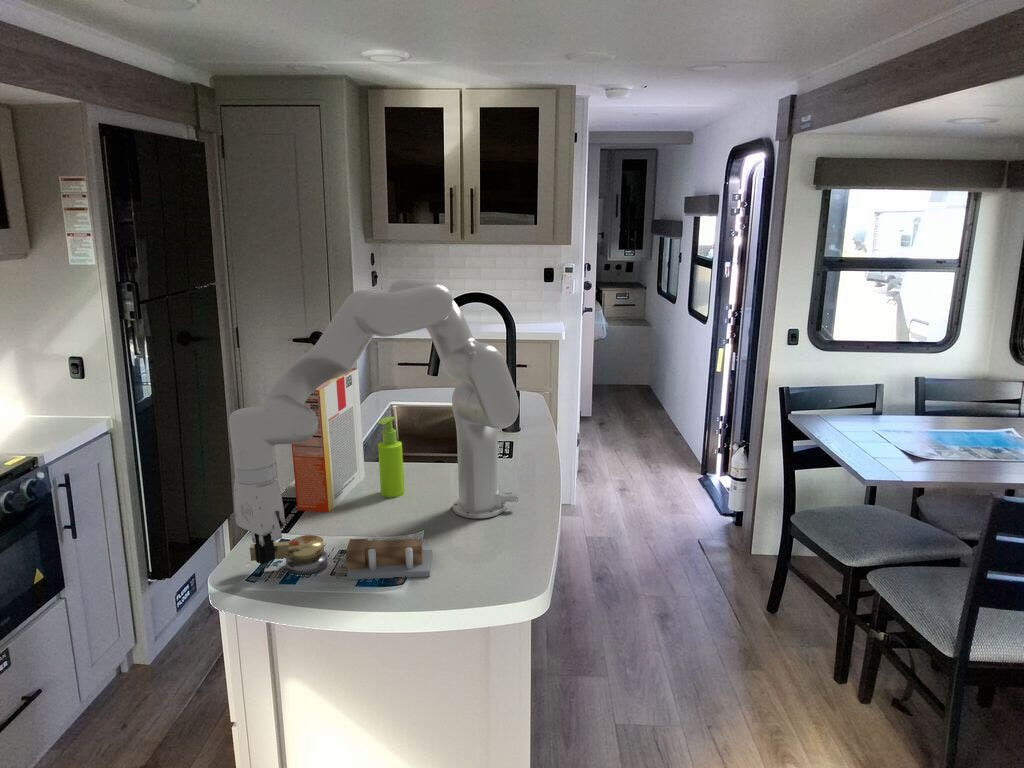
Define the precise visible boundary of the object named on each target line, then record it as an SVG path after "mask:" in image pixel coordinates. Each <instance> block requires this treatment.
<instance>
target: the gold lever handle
mask: <svg viewBox="0 0 1024 768" xmlns="http://www.w3.org/2000/svg"><path fill="white" fill-rule="evenodd" d="M254 544H255V543H252V544H250V547H249V554H250V561H251V562H254V561H256V556H255V547H254ZM324 545H325V544H324V539H323V537H321V536H320V535H313V534H308V535H307V534H306V535H301V536H297V537H294V538H292V539H290V540H288V541H278V542H277V541H276V542H275V541H274V552H275V559H274V560H278V559H286V558H289V559H290V560H291V561H295V562H308V561H312V560H315V559H318V558H319V557H321V556H322V555H323V554H324V551H325V547H324Z"/></svg>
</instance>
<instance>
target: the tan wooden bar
mask: <svg viewBox="0 0 1024 768" xmlns="http://www.w3.org/2000/svg"><path fill="white" fill-rule="evenodd" d="M408 547H410V548H412V550H413V565H416V564H422V561H423V550H424V549H423V548H424V547H423V538H415V539H408V538H404V539H381V540H380V539H379V540H372V539H371V540H369V538H368V537H367V538H350V539H349V540H348V543H347V546H346V548H345V560H346V570H347V571H348V570H351V569H366V566H369V556H368V550H369V549H375V551H376V566H391V565H406V554H405V549H406V548H408Z"/></svg>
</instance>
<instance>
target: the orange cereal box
mask: <svg viewBox="0 0 1024 768" xmlns="http://www.w3.org/2000/svg"><path fill="white" fill-rule="evenodd" d="M359 381H360V379H359V368H354V367H353V368H352V370H351V371H350V372H348V373H346V374H344V375H342V376H340V377H337V378H334V379H332V380H329V381H327V382H325V383H323V384H322V385H320V386H319V387H318V388H317V389H316V390H315V391H314V392H313V393H312V394H311V395H310V396H309V397H308V399H307V400H306V402H305V403H304V405H305V406H307V407H308V408H310V409H311V410H312V411H313V412H314V413H315V415H316V417H317V419H318V428H317V430H316V432H315V434H314V435H313V436H312V437H311V438H310V439H308V440H306V441H304V442H301V443H294V444H291V452H292V453H291V454H292V455H291V456H292V465H293V476H294V487H295V488H294V489H295V497H296V508H297V509H296V510H297V511H300V512H301V511H305V512H318V513H320V512H321V513H330V512H331V511H332V510H333V509H334V508H336V506H337V505H338V504H339V503H340V502H341V501H343V499H344V498H346V497H347V496H348V495H349V494H350V493H351V492H352V491H353V490H354V489H355V488H356V487H357V486H358V485H359V484H360V483H362V481H364V479H365V478H366V475H365V474H366V473H365V457H364V445H363V444H364V442H363V440H364V439H363V426H362V411H361V397H360V396H361V395H360V394H361V393H360V382H359ZM363 478H364V479H363ZM359 482H360V483H359ZM358 483H359V484H358ZM357 484H358V485H357ZM356 485H357V486H356ZM355 486H356V487H355ZM354 487H355V488H354ZM353 488H354V489H353ZM352 489H353V490H352ZM351 490H352V491H351ZM350 491H351V492H350ZM349 492H350V493H349Z"/></svg>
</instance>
